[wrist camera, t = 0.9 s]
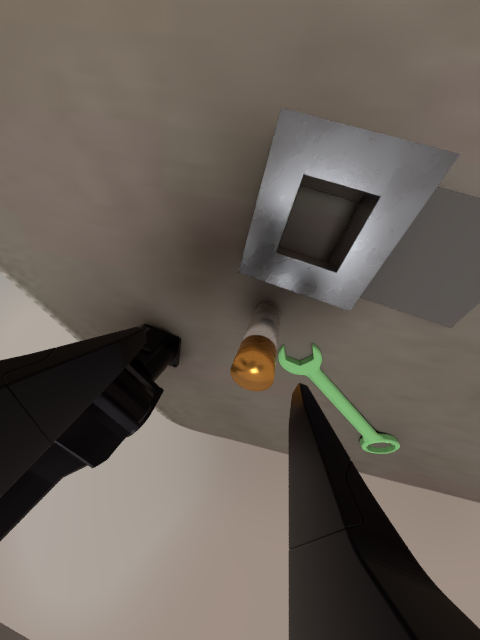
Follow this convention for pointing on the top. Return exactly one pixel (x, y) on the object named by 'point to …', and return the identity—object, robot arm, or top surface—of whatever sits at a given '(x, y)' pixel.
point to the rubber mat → (434, 262)
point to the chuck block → (344, 181)
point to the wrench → (337, 399)
